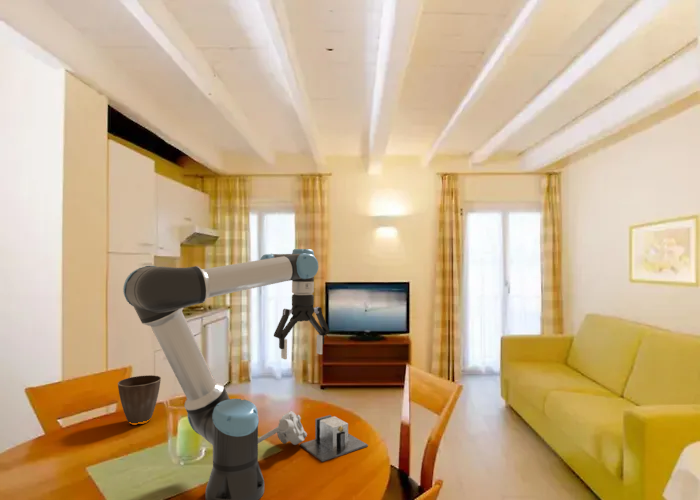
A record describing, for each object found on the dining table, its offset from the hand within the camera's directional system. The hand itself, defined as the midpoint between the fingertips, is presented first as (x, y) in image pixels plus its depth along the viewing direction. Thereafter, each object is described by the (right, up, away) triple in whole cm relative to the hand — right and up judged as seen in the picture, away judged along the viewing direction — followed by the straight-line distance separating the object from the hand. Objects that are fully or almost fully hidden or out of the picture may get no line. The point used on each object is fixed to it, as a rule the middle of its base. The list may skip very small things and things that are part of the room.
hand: (302, 356), depth 142 cm
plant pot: (-65, -30, +19) cm, 74 cm away
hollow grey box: (+11, -29, -3) cm, 31 cm away
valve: (-8, -29, -4) cm, 31 cm away
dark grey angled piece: (+11, -30, -3) cm, 32 cm away
